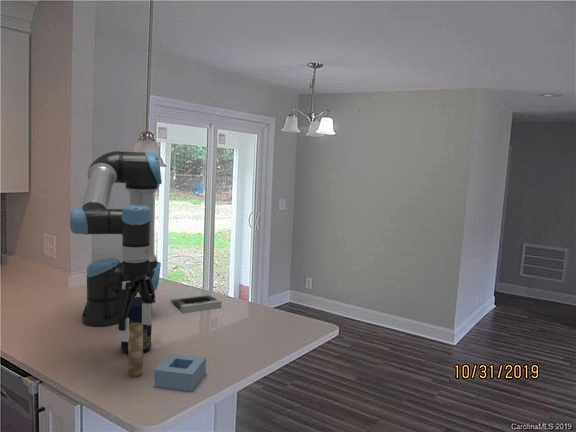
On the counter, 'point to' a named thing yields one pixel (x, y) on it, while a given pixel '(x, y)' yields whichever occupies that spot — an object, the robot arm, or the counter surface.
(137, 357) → the dowel
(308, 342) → the counter surface
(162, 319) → the counter surface
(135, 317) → the canister
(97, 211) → the robot arm
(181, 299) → the gray rectangular tray
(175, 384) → the socket block
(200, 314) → the counter surface
